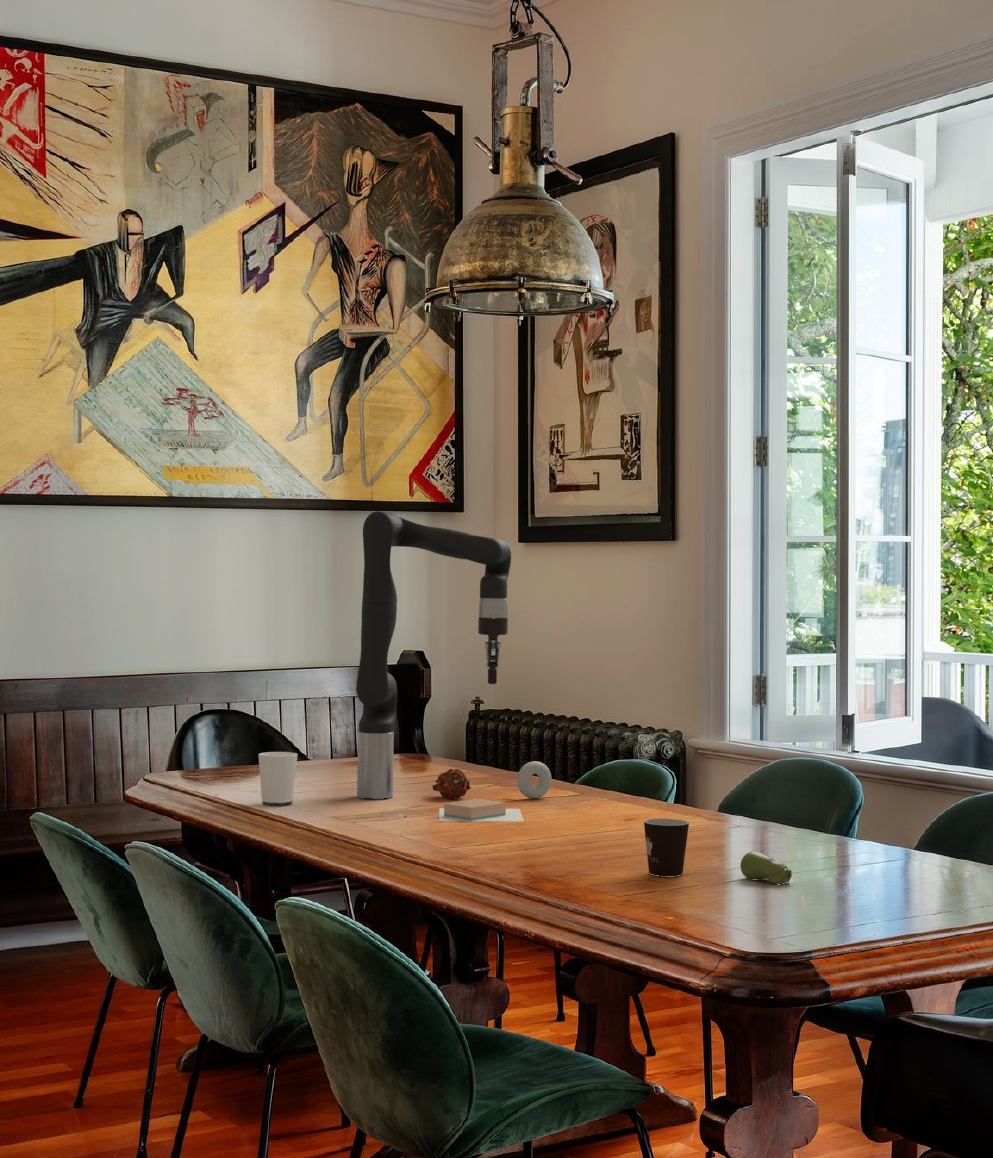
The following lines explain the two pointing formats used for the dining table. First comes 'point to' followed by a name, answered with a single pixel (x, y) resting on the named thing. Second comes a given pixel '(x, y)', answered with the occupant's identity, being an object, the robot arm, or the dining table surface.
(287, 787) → the cup
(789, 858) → the dining table surface
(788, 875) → the pear
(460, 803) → the teal rectangular block
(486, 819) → the felt mat
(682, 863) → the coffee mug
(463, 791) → the brown textured round lump
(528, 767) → the donut
